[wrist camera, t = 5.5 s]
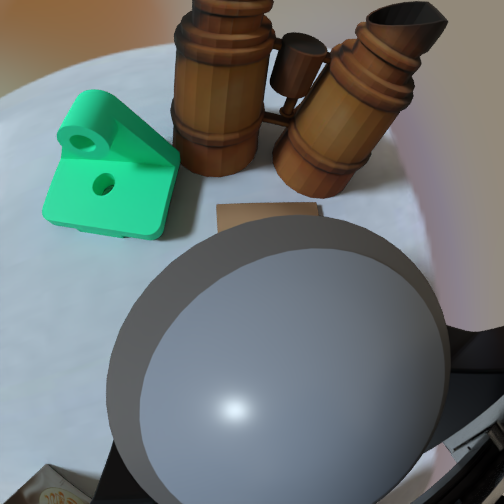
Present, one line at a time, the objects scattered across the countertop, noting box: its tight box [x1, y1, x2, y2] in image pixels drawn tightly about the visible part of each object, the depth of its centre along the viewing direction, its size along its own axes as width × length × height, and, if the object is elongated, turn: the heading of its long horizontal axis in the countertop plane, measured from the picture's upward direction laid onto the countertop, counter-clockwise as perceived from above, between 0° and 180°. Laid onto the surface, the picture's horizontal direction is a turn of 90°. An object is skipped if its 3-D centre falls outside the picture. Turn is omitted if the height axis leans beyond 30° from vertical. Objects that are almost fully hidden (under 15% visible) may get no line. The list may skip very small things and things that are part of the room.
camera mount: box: [42, 89, 181, 240], centre depth 18 cm, size 12×8×10 cm, turn 83°
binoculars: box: [170, 0, 448, 199], centre depth 16 cm, size 18×8×20 cm, turn 82°
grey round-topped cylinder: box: [106, 215, 451, 504], centre depth 9 cm, size 5×5×13 cm
